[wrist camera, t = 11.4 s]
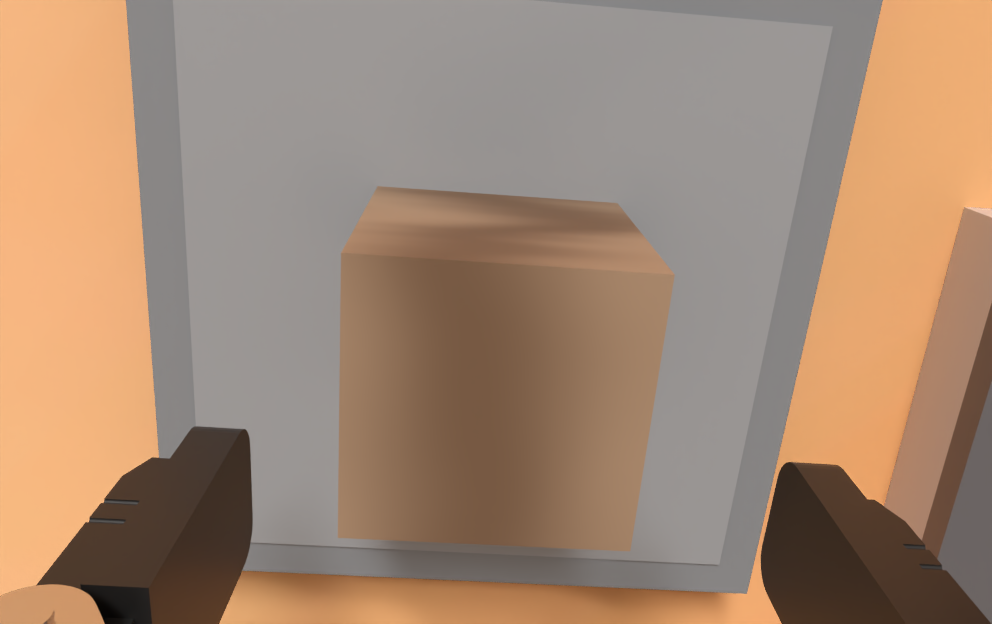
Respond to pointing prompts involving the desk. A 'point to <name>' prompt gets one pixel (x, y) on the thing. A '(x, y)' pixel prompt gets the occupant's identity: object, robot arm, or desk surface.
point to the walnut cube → (496, 370)
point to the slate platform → (502, 171)
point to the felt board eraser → (954, 422)
